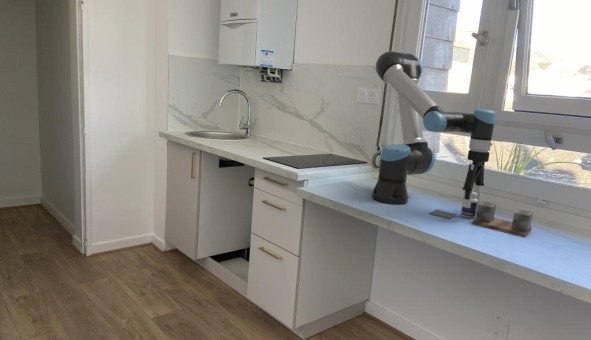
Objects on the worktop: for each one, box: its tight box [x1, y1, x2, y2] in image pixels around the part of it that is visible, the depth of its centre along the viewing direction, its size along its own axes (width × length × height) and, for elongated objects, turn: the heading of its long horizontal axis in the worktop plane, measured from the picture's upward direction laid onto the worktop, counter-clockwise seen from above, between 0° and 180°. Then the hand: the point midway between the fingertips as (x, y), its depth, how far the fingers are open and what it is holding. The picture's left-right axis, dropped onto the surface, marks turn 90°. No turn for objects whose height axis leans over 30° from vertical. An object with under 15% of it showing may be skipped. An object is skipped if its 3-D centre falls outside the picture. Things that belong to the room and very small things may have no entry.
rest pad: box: [429, 208, 457, 220], centre depth 171 cm, size 8×8×1 cm
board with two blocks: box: [472, 200, 534, 238], centre depth 161 cm, size 18×12×7 cm, turn 54°
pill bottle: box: [460, 192, 479, 219], centre depth 171 cm, size 5×5×10 cm
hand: (471, 204), depth 170 cm, fingers open, 13 cm apart
